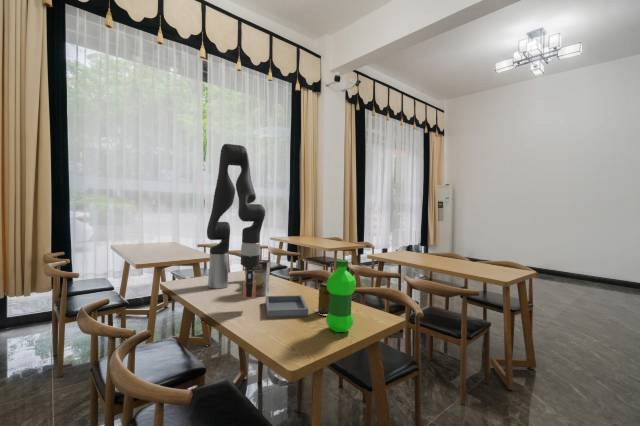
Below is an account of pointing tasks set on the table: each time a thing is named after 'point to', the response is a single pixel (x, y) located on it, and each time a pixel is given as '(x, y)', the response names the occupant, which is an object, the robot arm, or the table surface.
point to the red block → (252, 290)
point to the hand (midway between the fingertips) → (249, 294)
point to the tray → (286, 306)
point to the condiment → (323, 299)
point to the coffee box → (262, 277)
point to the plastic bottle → (340, 298)
